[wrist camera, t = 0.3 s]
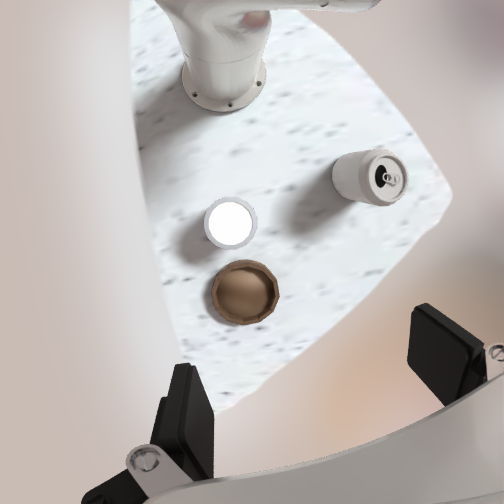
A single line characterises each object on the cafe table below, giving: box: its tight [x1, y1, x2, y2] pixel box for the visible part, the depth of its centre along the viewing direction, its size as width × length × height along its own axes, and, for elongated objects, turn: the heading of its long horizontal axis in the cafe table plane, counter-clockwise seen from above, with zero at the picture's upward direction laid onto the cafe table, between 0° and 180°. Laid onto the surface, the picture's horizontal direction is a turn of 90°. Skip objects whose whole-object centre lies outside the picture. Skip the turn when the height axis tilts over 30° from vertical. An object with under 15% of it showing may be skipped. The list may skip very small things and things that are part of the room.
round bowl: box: [211, 260, 280, 325], centre depth 45 cm, size 10×10×2 cm
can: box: [332, 149, 408, 206], centre depth 37 cm, size 8×8×12 cm
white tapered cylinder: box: [204, 197, 257, 249], centre depth 39 cm, size 7×7×7 cm
